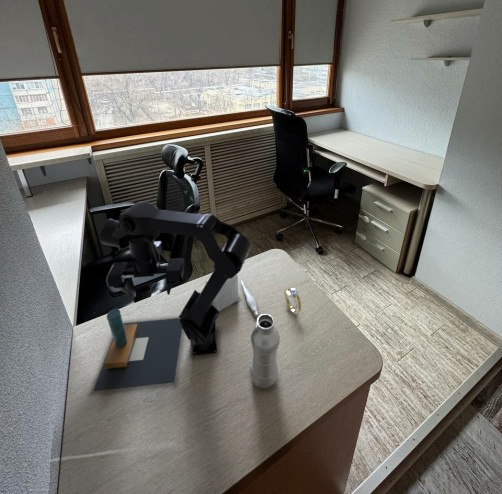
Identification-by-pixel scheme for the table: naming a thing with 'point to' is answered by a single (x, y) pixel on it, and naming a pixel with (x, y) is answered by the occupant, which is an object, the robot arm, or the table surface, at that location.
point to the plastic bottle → (264, 352)
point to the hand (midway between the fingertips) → (152, 294)
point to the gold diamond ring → (293, 295)
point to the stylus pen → (250, 300)
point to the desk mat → (147, 357)
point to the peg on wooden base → (120, 341)
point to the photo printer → (227, 294)
